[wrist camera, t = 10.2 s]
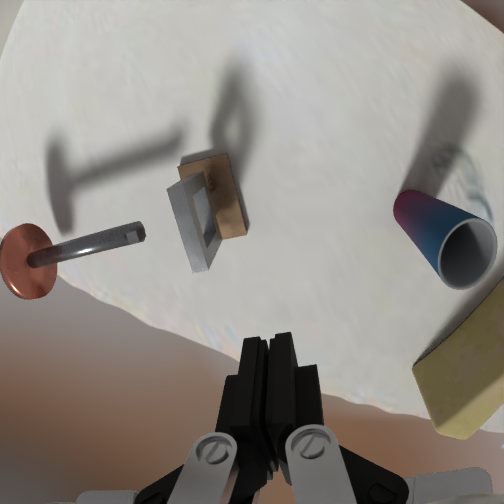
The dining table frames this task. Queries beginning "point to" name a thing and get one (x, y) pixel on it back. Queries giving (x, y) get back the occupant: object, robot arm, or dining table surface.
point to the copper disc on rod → (52, 255)
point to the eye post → (206, 208)
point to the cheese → (466, 371)
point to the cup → (448, 238)
